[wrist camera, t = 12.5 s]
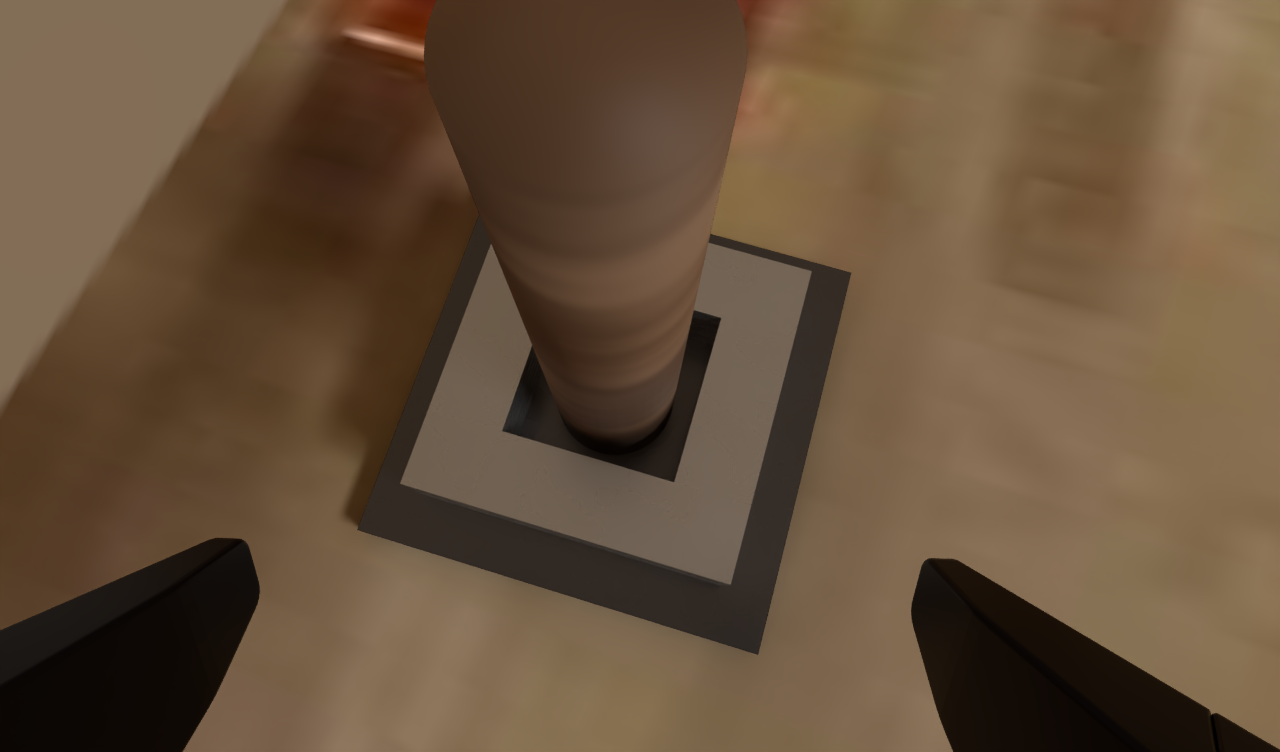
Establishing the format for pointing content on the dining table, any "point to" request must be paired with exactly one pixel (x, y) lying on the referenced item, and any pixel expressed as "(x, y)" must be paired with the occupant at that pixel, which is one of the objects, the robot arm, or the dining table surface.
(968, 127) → the dining table surface
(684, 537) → the steel socket
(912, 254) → the dining table surface
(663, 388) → the walnut peg
